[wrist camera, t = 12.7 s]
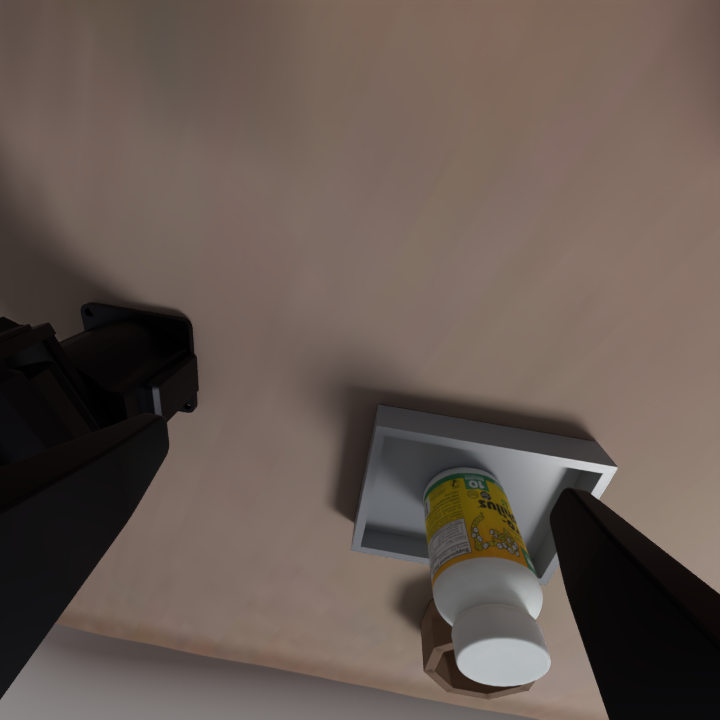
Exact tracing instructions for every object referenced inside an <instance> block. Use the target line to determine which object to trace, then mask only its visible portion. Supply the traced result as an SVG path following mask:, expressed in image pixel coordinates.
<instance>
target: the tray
mask: <svg viewBox="0 0 720 720" xmlns="http://www.w3.org/2000/svg"><path fill="white" fill-rule="evenodd" d="M457 467H468V468H475V469H480V470H483V471H485V472H487V473H489V474H491V475H492V476H494V477H495V478H496V479H497V480H498V481H499V482H500V484H501V485H502V487H503V489H504V491H505V494H506V496H507V499H508V501H509V504H510V507H511V510H512V512H513V515H514V518H515V520H516V523H517V526H518V528H519V531H520V533H521V536H522V539H523V541H524V544H525V547H526V549H527V552H528V554H529V557H530V560H531V562H532V565H533V567H534V570H535V573H536V575H537V578H538V580H539V583H540V584H541V585H547V584H548V582H549V580H550V579H551V577H552V575H553V574H554V572H555V570H556V569H557V567H558V565H559V560H558V556H557V552H556V548H555V544H554V539H553V535H552V531H551V527H550V520H549V519H550V513H551V510H552V509H553V507H554V505H555V503H556V501H557V499H558V498H559V496H560V494H561V492H562V490H563V489H565V488H567V487H572V488H577V489H583V490H586V491H588V492H589V493H591V494H592V495H593V496H594V497H596V498H597V499H598V500H599V498H600V496H601V495H602V493H603V492H604V490H605V488H606V487H607V485H608V483H609V482H610V480H611V478H612V477H613V475H614V473H615V472H616V470H617V469H618V467H617V465H616V464H615V463H614V462H613V461H612V459H611V458H610V457H609V456H608V454H607V453H606V452H605V451H604V450H603V448H602V447H601V446H600V445H599V444H598V442H595V441H589V440H583V439H577V438H571V437H566V436H560V435H554V434H548V433H542V432H536V431H531V430H525V429H519V428H513V427H507V426H501V425H496V424H490V423H484V422H478V421H472V420H466V419H461V418H455V417H449V416H443V415H437V414H432V413H426V412H420V411H414V410H408V409H402V408H397V407H391V406H385V405H379V404H378V407H377V412H376V417H375V422H374V427H373V432H372V437H371V442H370V447H369V452H368V457H367V462H366V467H365V472H364V477H363V482H362V487H361V492H360V497H359V502H358V507H357V512H356V517H355V522H354V530H353V538H352V547H351V551H355V552H361V553H366V554H372V555H377V556H383V557H389V558H394V559H400V560H406V561H411V562H417V563H422V564H428V565H430V563H429V553H428V543H427V534H426V526H425V515H424V504H423V496H424V491H425V489H426V487H427V485H428V483H429V482H430V481H431V480H432V479H433V478H434V477H435V476H436V475H438V474H439V473H441V472H443V471H445V470H448V469H452V468H457Z"/></svg>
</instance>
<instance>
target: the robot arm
mask: <svg viewBox="0 0 720 720" xmlns="http://www.w3.org/2000/svg"><path fill="white" fill-rule="evenodd" d="M90 309H91V310H92V311H93V313H92V312H91V311H90ZM81 315H82V319H83V324H84V329H85V331H83V332H81V333H79V334H77V335H74V336H72V337H70V338H68V339H65V340H63V341H61V342H58V340H57V339H56V337H55V336H54V335H55V334H56V332H55V331H54V329H53V328H52V326H51V325H50V323H45V324H41V325H38V326H34V327H31V326H30V324H27V325H23V324H22V325H19V324H17V323H15V322H13V321H11V320H9V319H7V318H5V317H0V699H1V698H2V697H3V695H4V694H5V692H6V691H7V690H8V688H9V687H10V685H11V684H12V683H13V681H14V680H15V678H16V677H17V676H18V674H19V673H20V671H21V670H22V669H23V667H24V666H25V664H26V663H27V662H28V660H29V659H30V657H31V656H32V654H33V653H34V652H35V650H36V649H37V648H38V646H39V645H40V644H41V642H42V641H43V639H44V638H45V636H46V635H47V634H48V632H49V631H50V629H51V628H52V627H53V625H54V624H55V623H56V621H57V620H58V618H59V617H60V616H61V614H62V613H63V611H64V610H65V609H66V607H67V606H68V604H69V603H70V602H71V600H72V599H73V597H74V596H75V595H76V593H77V592H78V590H79V589H80V588H81V586H82V585H83V583H84V582H85V581H86V579H87V578H88V576H89V575H90V574H91V572H92V571H93V569H94V568H95V567H96V565H97V564H98V562H99V561H100V560H101V558H102V557H103V556H104V554H105V553H106V551H107V550H108V549H109V547H110V546H111V544H112V543H113V542H114V540H115V539H116V537H117V536H118V535H119V533H120V532H121V530H122V529H123V528H124V526H125V525H126V523H127V522H128V520H129V519H130V517H131V516H132V514H133V512H134V511H135V509H136V508H137V506H138V504H139V502H140V501H141V499H142V497H143V496H144V494H145V492H146V490H147V489H148V487H149V485H150V483H151V482H152V480H153V478H154V476H155V475H156V473H157V471H158V469H159V468H160V466H161V464H162V463H163V461H164V459H165V457H166V455H167V453H168V450H169V437H168V428H167V422H168V421H169V420H170V419H171V418H172V417H173V416H174V415H175V414H176V413H177V412H178V411H181V412H187V413H191V412H193V411H194V410H195V408H196V407H197V391H198V390H199V386H198V370H197V357H196V355H195V353H194V343H193V327H192V324H191V322H190V321H189V320H188V319H185V318H182V317H176V316H170V315H164V314H158V313H152V312H146V311H140V310H134V309H128V308H123V307H117V306H111V305H105V304H99V303H93V302H91V303H87V304H84V305H82V307H81ZM180 324H182V325H183V326H184V327H185V330H184V329H182V328H181V326H180ZM187 403H188V404H189V405H190V406H188V405H187ZM549 520H550V527H551V531H552V535H553V539H554V544H555V548H556V552H557V556H558V560H559V565H560V569H561V573H562V577H563V581H564V585H565V589H566V593H567V596H568V599H569V603H570V606H571V609H572V612H573V615H574V618H575V621H576V624H577V627H578V629H579V632H580V635H581V638H582V641H583V644H584V647H585V650H586V653H587V656H588V659H589V662H590V665H591V668H592V671H593V674H594V676H595V679H596V682H597V685H598V688H599V691H600V694H601V697H602V700H603V703H604V706H605V709H606V712H607V715H608V718H609V720H720V594H719V593H718V592H716V591H715V590H714V589H712V588H711V587H710V586H709V585H707V584H706V583H705V582H703V581H702V580H701V579H700V578H698V577H697V576H696V575H694V574H693V573H692V572H691V571H689V570H688V569H687V568H686V567H684V566H683V565H682V564H680V563H679V562H678V561H677V560H675V559H674V558H673V557H671V556H670V555H669V554H668V553H666V552H665V551H664V550H662V549H661V548H660V547H659V546H657V545H656V544H655V543H653V542H652V541H651V540H650V539H648V538H647V537H646V536H644V535H643V534H642V533H641V532H639V531H638V530H637V529H635V528H634V527H633V526H632V525H630V524H629V523H628V522H627V521H625V520H624V519H623V518H621V517H620V516H619V515H618V514H616V513H615V512H614V511H612V510H611V509H610V508H609V507H607V506H606V505H605V504H603V503H602V502H601V501H600V500H598V499H597V498H596V497H594V496H593V495H592V494H591V493H589V492H588V491H586V490H583V489H577V488H572V487H567V488H565V489H563V490H562V492H561V494H560V496H559V498H558V499H557V501H556V503H555V505H554V507H553V509H552V510H551V513H550V519H549Z"/></svg>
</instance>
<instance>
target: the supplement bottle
mask: <svg viewBox="0 0 720 720" xmlns="http://www.w3.org/2000/svg"><path fill="white" fill-rule="evenodd" d="M423 504H424V515H425V526H426V534H427V543H428V553H429V563H430V572H431V582H432V590H433V598H434V602H435V605H436V607H437V609H438V611H439V613H440V614H441V616H442V617H443V618H444V619H445V620H446V622H448V623H449V624H450V625H451V626H452V634H451V636H452V641H453V646H454V653H455V659H456V664H457V666H458V668H459V670H460V671H461V672H462V673H463V674H464V675H465V676H467V677H468V678H470V679H472V680H474V681H476V682H479V683H482V684H487V685H492V686H516V685H523V684H527V683H530V682H533V681H535V680H537V679H539V678H540V677H542V676H543V675H544V674H545V673H546V672H547V671H548V670H549V667H550V664H551V660H550V655H549V652H548V648H547V645H546V642H545V639H544V635H543V631H542V629H541V627H540V626H539V624H538V623H537V622H536V618H537V617H538V615H539V613H540V611H541V607H542V601H543V596H542V590H541V586H540V583H539V580H538V578H537V575H536V573H535V570H534V567H533V565H532V562H531V560H530V557H529V554H528V552H527V549H526V547H525V544H524V541H523V539H522V536H521V533H520V531H519V528H518V526H517V523H516V520H515V518H514V515H513V512H512V510H511V507H510V504H509V501H508V499H507V496H506V494H505V491H504V489H503V487H502V485H501V484H500V482H499V481H498V480H497V479H496V478H495V477H494V476H492V475H491V474H489V473H487V472H485V471H483V470H480V469H475V468H468V467H457V468H452V469H448V470H445V471H443V472H441V473H439V474H438V475H436V476H435V477H434V478H433V479H432V480H431V481H430V482H429V483H428V485H427V487H426V489H425V491H424V496H423Z"/></svg>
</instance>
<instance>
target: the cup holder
mask: <svg viewBox="0 0 720 720" xmlns="http://www.w3.org/2000/svg"><path fill="white" fill-rule="evenodd" d="M451 634H452V626H451V625H450V624H449V623H448V622H446V620H445V619H444V618H443V617H442V616H441V614H440V613H439V611H438V609H437V607H436V605H435V602H434V600H431V601H430V602H429V604H428V607H427V610H426V612H425V615H424V617H423V620H422V623H421V637H422V652H423V668H424V672H425V673H426V674H427V675H428V676H430V677H431V678H432V679H433V680H434V681H435V682H436V683H437V684H438V685H440V686H441V687H442V688H443V689H444V690H445V691H446V692H450V693H455V694H461V695H466V696H472V697H477V698H483V699H488V700H489V699H493V698H497V697H502V696H506V695H510V694H515V693H519V692H524V691H528V690H529V689H530V687H531V686H532V685H533V683H534V682H535V681H536V680H535V681H533V682H530V683H527V684H523V685H516V686H492V685H487V684H482V683H479V682H476V681H474V680H472V679H470V678H468V677H467V676H465V675H464V674H463V673H462V672H461V671H460V670H459V668H458V666H457V664H456V659H455V653H454V646H453V641H452V636H451Z"/></svg>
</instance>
